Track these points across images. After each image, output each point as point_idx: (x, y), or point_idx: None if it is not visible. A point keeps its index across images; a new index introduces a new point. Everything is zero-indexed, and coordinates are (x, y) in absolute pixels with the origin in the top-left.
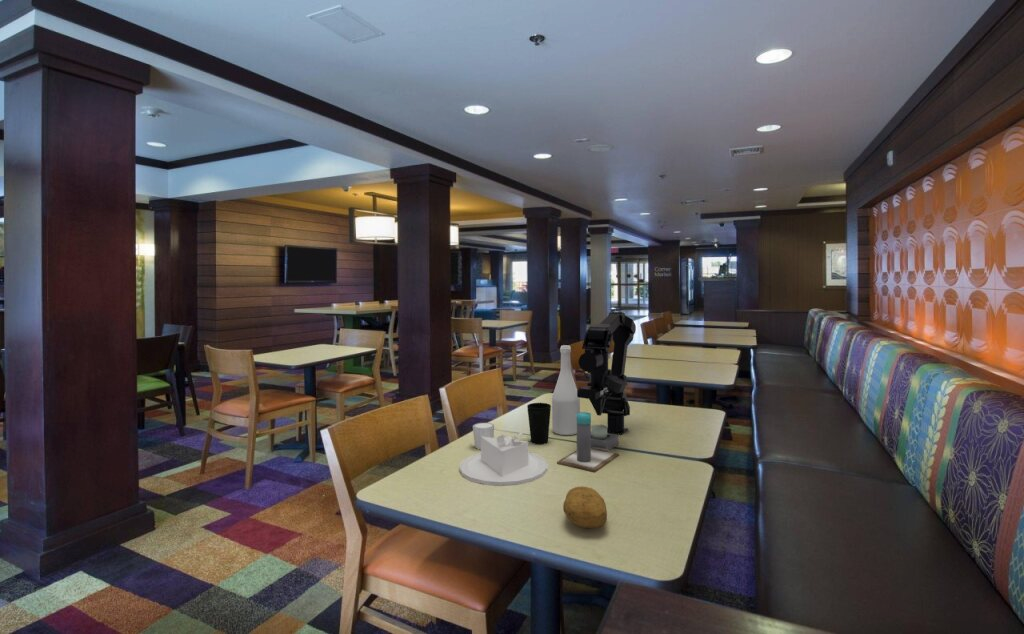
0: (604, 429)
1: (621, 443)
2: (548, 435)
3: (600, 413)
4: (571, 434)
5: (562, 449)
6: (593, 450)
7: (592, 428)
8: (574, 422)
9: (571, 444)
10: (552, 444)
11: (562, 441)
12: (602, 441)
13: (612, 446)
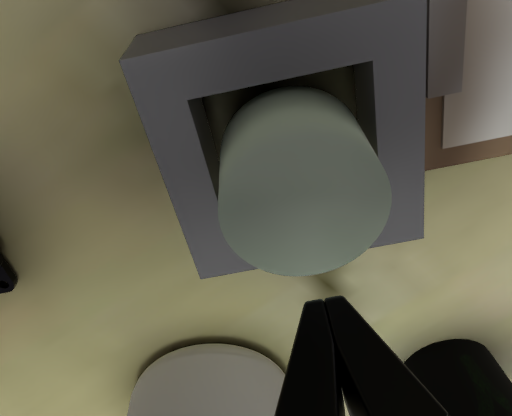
0: (327, 131)
1: (94, 28)
2: (434, 378)
3: (352, 313)
4: (243, 347)
5: (504, 234)
6: (480, 50)
7: (379, 229)
8: (227, 410)
9: (385, 255)
10: (449, 313)
11: (369, 313)
12: (411, 44)
13: (259, 10)
